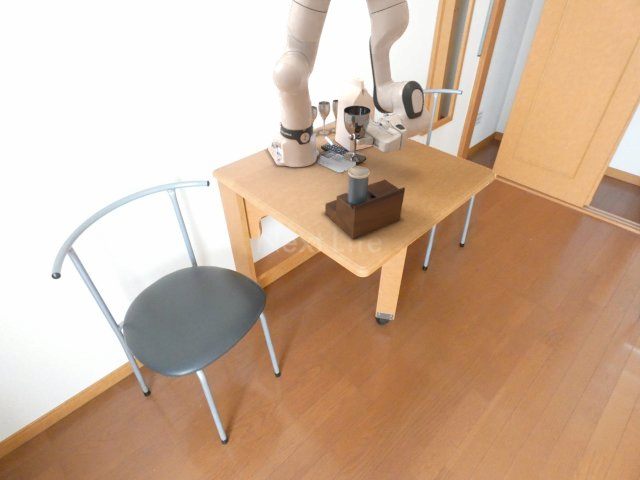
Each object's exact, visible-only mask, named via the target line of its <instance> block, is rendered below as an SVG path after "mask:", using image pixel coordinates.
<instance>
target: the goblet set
mask: <svg viewBox="0 0 640 480" xmlns="http://www.w3.org/2000/svg"><path fill="white" fill-rule="evenodd" d="M338 100H339V99H333V100H332V103H331V102H330V101H327V100H326V101H324V100H322V101H319V102H318V105H317V106H314V105H311V110H312V123H313V124H314V123H315V121H316V120H317V117H318V115H319V116H320V117H321V119H322V122H323V129H322V130H319V131H318V133H317V132H314V131H313V134H314V135H315V137H317V136H318V134H319V135H323V136H325V135H329V134H330V131H329V130H326V127H325V126H326V125H325V124H326V120H327V118H328V117H329V115H330V112H331V111H332V113H333V117H334V120H335V122H334V123H335V124H334V125H335V127H334V128H332V129H331V132H332V133H336V124H337V111H338Z"/></svg>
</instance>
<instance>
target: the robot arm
mask: <svg viewBox="0 0 640 480" xmlns="http://www.w3.org/2000/svg"><path fill="white" fill-rule="evenodd" d="M331 1H332V0H292V1H291V5H290V11H289V13H288V14H289V15H288V19H287V23H286V39H285V46H284V51H283V54H282V56H281V57H279V59H278V60H277V61H276V62H275V64H274V67H273V70H272V81H273V83H274V86H275V87H276V91H277V96H278V99H279V104H280V105H279V106H280V116H281V117H280V118H281V121H280V124H279V126H280V128H279V132H277V134H275V135H274V136H273V139H272V140H273V141H272V142H271V145H270V146H269V147H268V148H267V151H268V153H269V154H270V156H271V158H272V159H273V161H274V163H275V165H276V166H281V167H282V166H283V167H285V166H286V167H290V168H304V167H309V166H311V165H312V164H313V165H314V163H316V161H317V159H318V156H320V151H319V150H318V149H317V139H316V137H317V136H315V135H314V134H313V132H314V122H313V123H312V110H311V106H312V100H311V97H310V91H309V79H310V76H311V75H312V73H313V72H314V68H315V64H316V59H317V56H318V50H319V45H320V41H321V38H322V37H321V36H322V34H323V29H324V27H325V23H326V19H327V16H328V12H329V8H330V4H331ZM365 2H366V5H367V10H368V15H369V21H370V36H369V41H368V47H369V57H370V58H369V59H370V65H371V75H372V82H373V83H372V84H373V89H372V90H373V91H372V97H373V102H374V105H375V110H376V111H378V112H379V113H380V114H389V115H386V116H382V117H379V118H378V119H377V121H375V120H374V121H373V120H371V119H370V121H369V125H368V128H367V130H366V131H365V132H364V133H363V134H362V135H361V136H360V137H359V138H357V139H356V144H358V145H372V146H371V147H374V148H376V149H377V150H379V151H380V152H382V153H384V154H391V153H395V152H397V151H399V150H400V151H401V150H404V149H405V147H406V144H407V140H408V139H412V138H414V137H416V136H419V135H421V134H423V133H424V132H426V131H427V130H428V128H429V127H430V125H431V114H430V111H429V110H428V109H427V108H426V106H425V93H424V89H423V87H422V85H421V84H420V83H419V82H418V81H416V80H403V81H395V80H393V78H392V74H391V72H392V71H391V61H390V51H391V48H392V47H393V45H394V44H395V43H396V42H397V41H398V40H399V39H401V38H402V36H403V35H404V33H405V32H406V30H407V28H408V26H409V24H410V10H409V5H408V0H365ZM348 139H350V140H351V141H352V140H353V138H352V137H351V135H350V134H349V135H348ZM325 140H326V141H327V142H328V143H329V144H330V146H333V142H332V141H331V140H330V139H329V138H328V137H327V136H325Z"/></svg>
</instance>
